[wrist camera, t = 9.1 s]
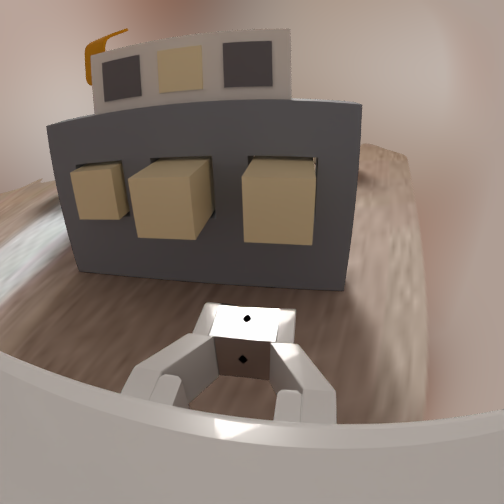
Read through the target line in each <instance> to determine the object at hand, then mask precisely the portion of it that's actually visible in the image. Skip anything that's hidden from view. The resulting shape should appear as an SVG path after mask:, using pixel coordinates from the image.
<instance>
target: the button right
mask: <svg viewBox="0 0 504 504" xmlns="http://www.w3.org/2000/svg"><path fill="white" fill-rule="evenodd" d="M315 191H316V175H315V169H314V162H313V157H295V156H254V158H253V159H252V161H251V163H250V164H249V166H248V167H247V169H246V171H245V172H244V174H243V175H242V201H243V227H244V242H252V243H273V244H294V245H312V241H313V226H314V209H315Z"/></svg>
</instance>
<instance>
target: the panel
mask: <svg viewBox="0 0 504 504" xmlns="http://www.w3.org/2000/svg"><path fill="white" fill-rule="evenodd" d="M91 75H92V89H93V101H94V111H95V114H93V115H87V116H83V117H78V118H73V119H68V120H65V121H61V122H58V123H55V124H51V125H48V126H46V127H47V135H48V142H49V148H50V154H51V160H52V165H53V170H54V176H55V181H56V186H57V191H58V195H59V200H60V204H61V208H62V212H63V216H64V220H65V224H66V228H67V232H68V236H69V239H70V243H71V246H72V250H73V253H74V256H75V260H76V263H77V266H78V269H79V271H82V272H91V273H101V274H111V275H121V276H131V277H142V278H154V279H165V280H177V281H190V282H202V283H216V284H230V285H245V286H261V287H277V288H295V289H315V290H336V291H344V285H345V279H346V272H347V266H348V259H349V252H350V244H351V236H352V228H353V220H354V211H355V201H356V191H357V180H358V168H359V155H360V139H361V119H362V105H361V104H358V103H356V102H346V101H334V100H318V99H317V100H316V99H292V98H291V37H290V29H253V30H235V31H221V32H211V33H203V34H194V35H186V36H179V37H172V38H166V39H161V40H155V41H150V42H145V43H140V44H136V45H131V46H126V47H122V48H118V49H114V50H110V51H106V52H102V53H99V54H95V55H92V56H91ZM185 156H212V165H213V180H214V195H215V210H214V212H213V213H212V215H211V217H210V218H209V220H208V221H207V223H206V224H205V226H204V227H203V229H202V231H201V232H200V234H199V235H198V237H197V239H196V240H184V239H159V238H138V235H137V230H136V225H135V219H134V214H133V208H132V202H131V196H130V190H129V183H128V178H130V177H131V176H133V175H134V174H136V173H138V172H139V171H141V170H142V169H144V168H145V167H147V166H149V165H150V164H152V163H153V162H155V161H157V160H158V159H160V158H163V157H185ZM254 156H295V157H316V169H315V175H316V191H315V209H314V226H313V241H312V245H294V244H273V243H252V242H244V227H243V201H242V175H243V174H244V172H245V171H246V169H247V167H248V166H249V164H250V163H251V161H252V159H253V158H254ZM118 160H122V165H123V172H124V179H125V186H126V192H127V198H128V204H129V209H130V211H129V212H128V213H127V214H126V215H124V216H123V217H122V218H121V219H120V220H90V219H80V218H79V214H78V209H77V205H76V200H75V195H74V191H73V186H72V181H71V175H70V172H72V171H74V170H76V169H78V168H80V167H82V166H84V165H86V164H88V163H97V162H107V161H118Z"/></svg>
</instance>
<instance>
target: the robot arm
mask: <svg viewBox="0 0 504 504" xmlns="http://www.w3.org/2000/svg"><path fill="white" fill-rule="evenodd" d="M295 322H296V309H285V308H281V309H278V308H263V307H251V306H241V305H232V304H223V303H222V304H221V303H213V302H207V303H206V304H205V305H204V307H203V309H202V312H201V314H200V316H199V319H198V321H197V323H196V326H195V328H194V330H193V333H192V334H190V333H188V334H186V335H184V336H183V337H181V338H180V339H178V340H176V341H175V342H173V343H172V344H170V345H168V346H167V347H165V348H164V349H162V350H160V351H159V352H157V353H156V354H154V355H152V356H151V357H149V358H147V359H146V360H144V361H143V362H141V363H139V364H138V365H136V366H134V368H133V370H132V372H131V374H130V376H129V378H128V380H127V381H126V383H125V385H124V387H123V389H122V391H121V393H116V392H113V391H109V390H106V389H102V388H99V387H96V386H92V385H89V384H86V383H83V382H80V381H77V380H73V379H70V378H68V377H65V376H62V375H59V374H56V373H53V372H51V371H48V370H45V369H43V368H40V367H37V366H35V365H32V364H30V363H27V362H25V361H22V360H20V359H17V358H15V357H13V356H10V355H8V354H6V353H4V352H1V351H0V504H504V409H502V410H497V411H492V412H486V413H481V414H474V415H468V416H461V417H454V418H446V419H437V420H427V421H415V422H401V423H380V424H336V391H335V390H334V388H333V387H332V386H331V385H330V383H329V382H328V381H327V380H326V378H325V377H324V376H323V375H322V373H321V372H320V371H319V370H318V368H317V367H316V366H315V365H314V363H313V362H312V361H311V359H310V358H309V357H308V356H307V354H306V353H305V352H304V351H303V349H302V348H301V347H300V346H299V344H294V336H295ZM219 375H224V376H235V377H245V378H253V379H261V380H269V382H270V384H271V386H272V388H273V389H274V391H275V393H276V395H277V400H276V407H275V414H274V420H262V419H253V418H244V417H236V416H229V415H222V414H215V413H209V412H203V411H197V410H191V409H190V408H189V403H190V402H191V401H192V400H193V399H194V398H196V397H197V396H198V395H199V394H200V393H201V392H202V391H203V390H204V389H205V388H207V387H208V386H209V385H210V384H211V383H212V382H213V381H214V380H215V379H216V378H217V377H218V376H219Z"/></svg>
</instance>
